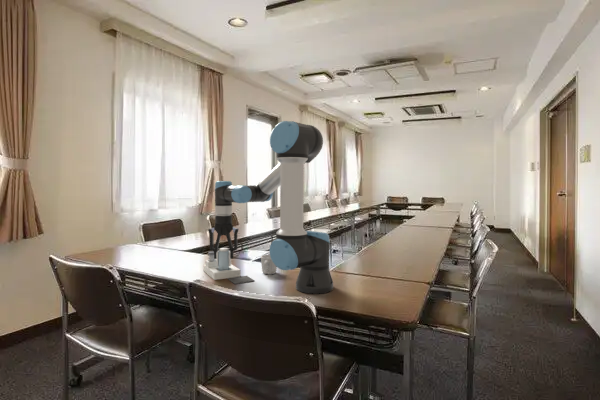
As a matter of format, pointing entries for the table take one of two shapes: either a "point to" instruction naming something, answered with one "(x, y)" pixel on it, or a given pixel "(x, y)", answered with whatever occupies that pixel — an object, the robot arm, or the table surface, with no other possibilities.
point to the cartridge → (223, 259)
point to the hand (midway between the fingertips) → (223, 265)
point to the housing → (216, 274)
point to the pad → (240, 279)
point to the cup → (268, 265)
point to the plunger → (211, 256)
